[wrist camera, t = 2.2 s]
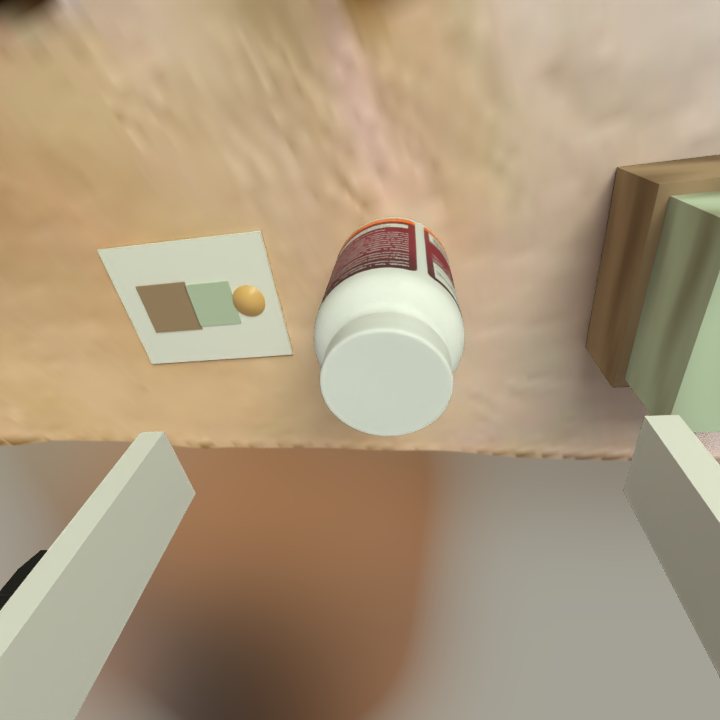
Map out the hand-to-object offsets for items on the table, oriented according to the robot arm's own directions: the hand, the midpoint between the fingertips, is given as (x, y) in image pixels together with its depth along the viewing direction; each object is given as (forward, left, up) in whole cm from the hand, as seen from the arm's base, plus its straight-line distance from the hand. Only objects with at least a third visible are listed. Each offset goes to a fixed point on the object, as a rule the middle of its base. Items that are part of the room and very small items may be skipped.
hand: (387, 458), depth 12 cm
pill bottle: (0, 0, -14) cm, 14 cm away
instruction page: (-12, -1, -14) cm, 19 cm away
